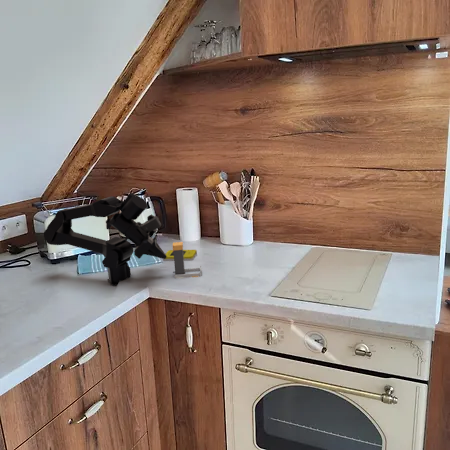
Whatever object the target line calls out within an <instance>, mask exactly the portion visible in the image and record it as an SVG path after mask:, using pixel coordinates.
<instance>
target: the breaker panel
mask: <svg viewBox="0 0 450 450" xmlns="http://www.w3.org/2000/svg"><path fill="white" fill-rule="evenodd" d="M202 269H203V268H202V265H200V266H199V267H192V268H191V267H190V268H185V274H178V275H175V271H172V273H173V274H174V279H185V278H199V277H201V276H202V275H203V272H202V271H203V270H202ZM191 272H193V273H191Z"/></svg>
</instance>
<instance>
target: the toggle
mask: <svg viewBox="0 0 450 450" xmlns="http://www.w3.org/2000/svg"><path fill="white" fill-rule="evenodd" d="M183 243H184V242H183V241H178V242H177V241H176V242H172V250H173V253H174V261H173V263H174V276H175V275H178V274H186V272H185V269H186V267H185V261H184V256H183V250H184V244H183Z"/></svg>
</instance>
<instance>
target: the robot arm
mask: <svg viewBox="0 0 450 450" xmlns="http://www.w3.org/2000/svg"><path fill="white" fill-rule="evenodd" d="M147 208H148V204H147V202H146V200H145V199H144V198H142V197H140V196H139V195H136V194H135V193H133V192H132V193H131V192H130V193H129V194H127V196H126V198H125V199H124V200H121V199H118V198H117V197H116V196H112V195H111V196H108V197H105V198H102V199H98V200H96V201H94V202H92V203H89V204H86V205H84V204H83V205H81V206H75V207H71V208H67V207H66V208H64V209H63V208H62V209H60V210H58V211H57V212H56V213H55V215H54V218H52V220H50V222H49V224H48V225H47V227H46V229H45V230H44V232H43V238H44V240H45V242H46V244H47V245H51V246H64V245H65V246H66V245H67V246H68V245H69V246H72V247H76V248H79V249H83V250H87V251H90V252H94V253H98V254H100V255H102V256H103V257H104V258H103V260H101V263H102V265H103V267H104V268H107V275H108V278H107V282H108V283H109V284H110V285H111V286H118V285H119V282H121V281H125V280H127V279H129V278H131V277H132V275H131V273H132V272H131V266H130V265H129V261H131V258H132V256H133V254H134V256H135V257H136V258H137V259H138V260H139V259H141V258H142V257H143V255H146V256H151V257H155V258H159V259H162V260H163V259H165V258H166V257H167V256H166V253H165V252H164V250H163V249H162V247H161V246H160V245H159V243H158V236H157V235H155V234H156V233H157V231H158V229H160V228H161V226H162V223H161V221H160V217H158V216H157V215H153V214H150V215H148V216H147V218H146V219H147V220H146V221H145V222H143V223H142V222H141V221H137V222H136V220H137V219H138V218H139V216H141V215H142V214H143V212H144V211H145V210H146V209H147ZM112 215H113V216H112ZM110 216H112V217H111V218H107V217H110ZM86 217H96V218H107V219H106V220H105V226H106V228H105V229H106V230H109V229H110V228H112V227H113V228H114V229H115V230H116V231H118V232H119V233H120V234H122V235H123V236H124V238H121V237H118V236H114V237H112V238H110V239H108V240H106V239H102V238H97V237H94V236H91V235H87V234H83V233H79V232H75V231H74V230H73V227H72V226H73V221H72V220H76V219H81V218H86ZM154 235H155V236H154ZM153 236H154V237H153ZM128 240H129V241H128ZM132 243H133V244H134V246H133V245H132ZM134 247H135V248H134Z"/></svg>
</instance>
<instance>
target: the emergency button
mask: <svg viewBox="0 0 450 450" xmlns="http://www.w3.org/2000/svg"><path fill="white" fill-rule="evenodd" d="M165 254H166V256H167V257H166V258H165V259H162V261H163V262H174V253H173V249H169V250H167V251H166V253H165ZM183 256H184V262H185V261H186V262H192V261H194V260H195V258H196V257H198V250H197V249H183Z"/></svg>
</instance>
